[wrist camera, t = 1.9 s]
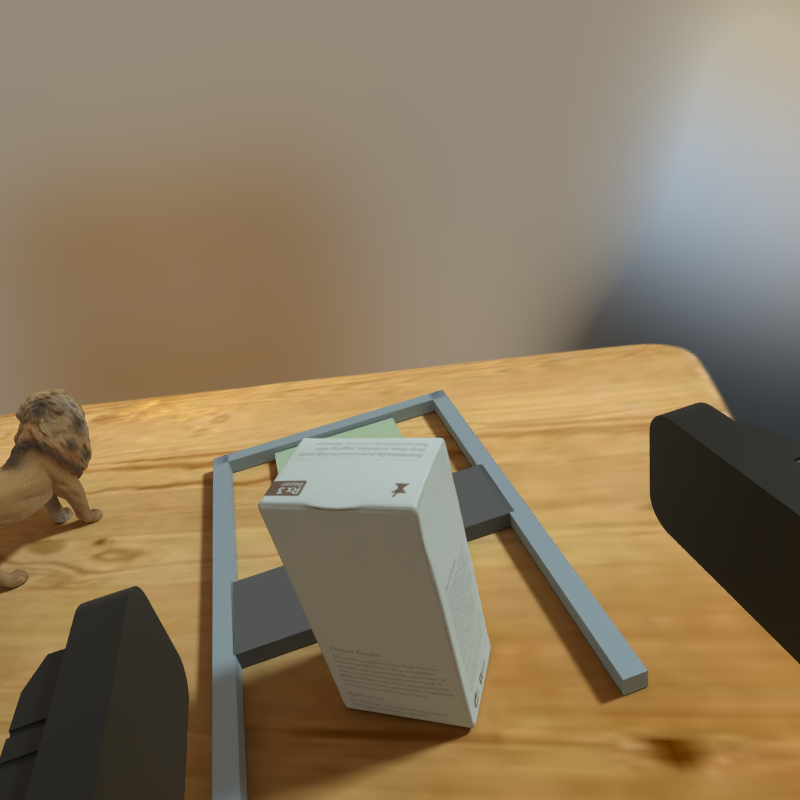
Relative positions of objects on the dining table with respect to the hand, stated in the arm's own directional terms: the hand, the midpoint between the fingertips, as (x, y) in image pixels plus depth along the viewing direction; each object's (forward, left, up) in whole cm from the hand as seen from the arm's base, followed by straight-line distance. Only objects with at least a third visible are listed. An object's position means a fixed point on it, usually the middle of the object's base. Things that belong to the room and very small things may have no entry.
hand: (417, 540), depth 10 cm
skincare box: (-9, +7, -18) cm, 21 cm away
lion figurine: (-38, +4, -18) cm, 42 cm away
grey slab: (-13, +18, -18) cm, 28 cm away
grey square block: (-17, +7, -18) cm, 26 cm away
